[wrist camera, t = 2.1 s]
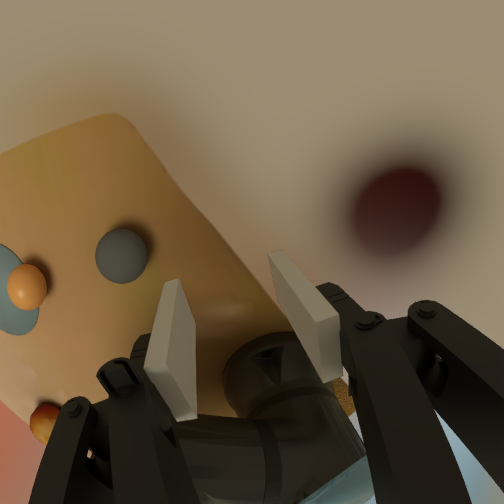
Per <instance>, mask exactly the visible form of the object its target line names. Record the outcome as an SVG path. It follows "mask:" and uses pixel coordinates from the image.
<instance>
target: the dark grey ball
mask: <svg viewBox="0 0 504 504" xmlns="http://www.w3.org/2000/svg"><path fill="white" fill-rule="evenodd" d="M95 258H96V264H97V267H98V269H99V271H100V272H101V274H102V275H103V276H104V277H105V278H106V279H108V280H110V281H112V282H114V283H120V284H124V283H129V282H132V281H134V280H135V279H137V278H138V277H139V276H140V275H141V274H142V273H143V271H144V269H145V267H146V264H147V260H148V253H147V248H146V245H145V243H144V241H143V240H142V238H141V237H140V236H139V235H138V234H136V233H135V232H133V231H131V230H129V229H114V230H112V231H110V232H108V233H107V234H105V235H104V236H103V237H102V238H101V240H100V241H99V243H98V245H97V248H96V254H95Z"/></svg>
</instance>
